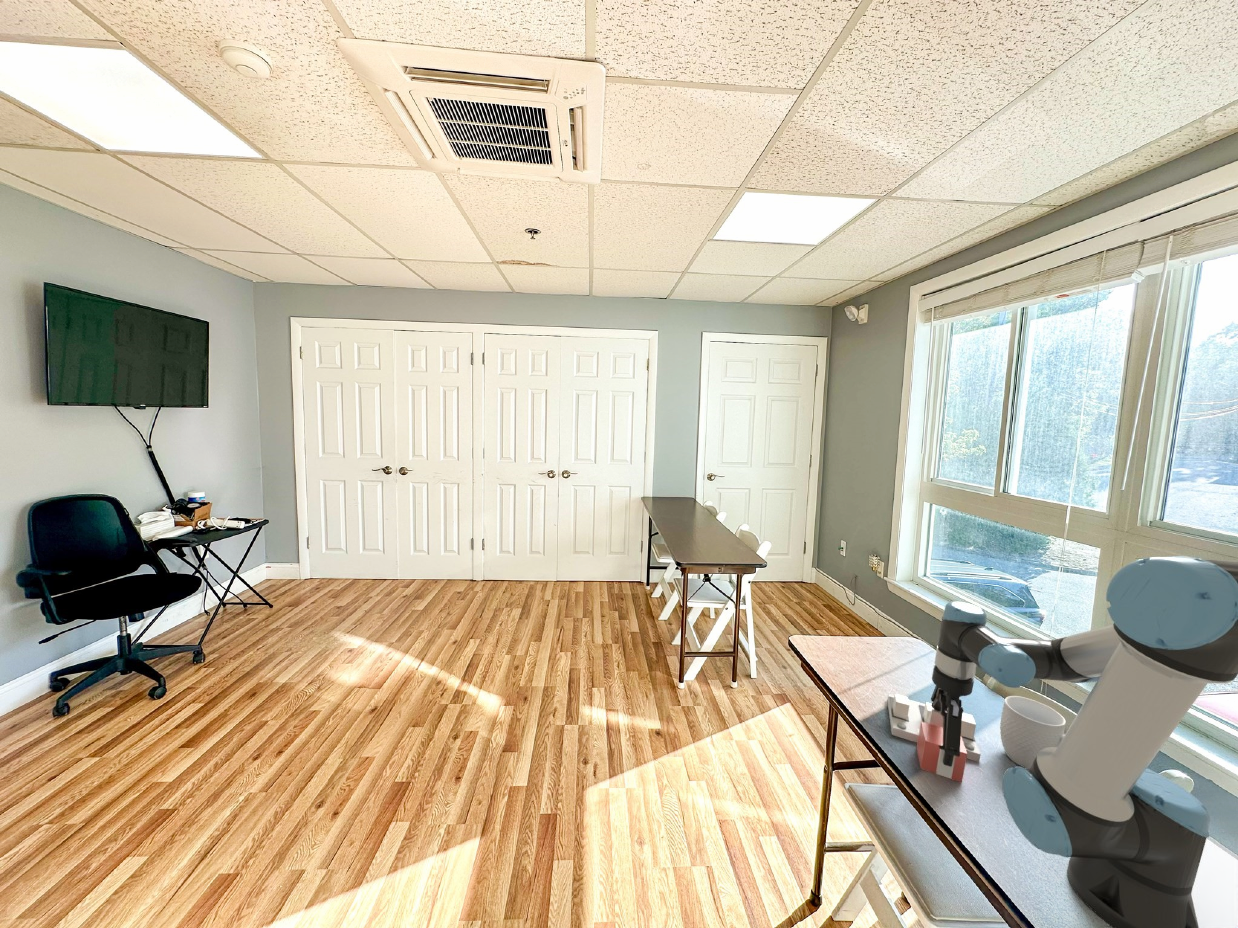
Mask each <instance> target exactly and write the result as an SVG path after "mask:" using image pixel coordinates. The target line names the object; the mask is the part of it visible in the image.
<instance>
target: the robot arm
mask: <svg viewBox="0 0 1238 928" xmlns="http://www.w3.org/2000/svg"><path fill="white" fill-rule="evenodd" d="M1105 600H1106V602H1107V603H1109V605H1110V606H1108V607H1107V611H1108V614H1109V616H1110V619H1111V621H1112V622H1113V624H1109V625H1107V626H1103V627H1098V628H1095V629H1091V630H1088V631H1083V632H1079V633H1075V634H1071V635H1068V636H1065V637H1061V638H1055V639H1049V640H1048V639H1037V638H1024V637H1023V638H1021V637H1020V638H1019V637H1009V636H1002V635H999V634H998V633H996V632H995V631H994V630H992V629H990V628H989V627H988V626H986V624H987V614H986V612H985V610H984V609H982V608H981V607H979V606H978V605H974V604H971V603H968V602H965V601H964V602H963V601H957V600H953V601H950V602H947V603H946V604H945V607H944V611H943V614H942V616H941V623H940V629H939V636H938V642H937V646H936V650H935V651H936V652H935V657H934V665H933V669H932V670H933V671H932V674H931V675H932V676H931V681H932V683H934V685H935V686H934V690H933V692H932V695H931V698H930V700H931V703H932V708H934V709H932V710H931V716H930V721H929V724H932V725H935V726H939V727H942V728H943V745H939V749H940V753H939V759H938V764H937V769H936V773H937V774H936V775H938V774H939V775H938V776H941V775H942V776H941V777H944V776H945V777H944V778H947V777H948V778H947V779H950V778H952V773H953V767H954V762H955V757H956V756H957V757H959V756H960V740H961V723H962V714H963V713H964V708H963V707H962V705H963V704H962V703H963V701H962V699H960V698H961V697H965V696H966V697H967V696H970V695H971V694H972V693H973V688H974V684H975V678H974V677H975V675H976V671H977V667H978V668H980V670H982V671H983V672H984V673H985V674H986V675H987V676H989V677H990V678H992V679H993V680H994V681H996V682H997V683H999V684H1000V685H1003V686H1004V687H1007V688H1014V689H1018V688H1020V687H1021V686H1027V685H1028V684H1030V683H1031V682H1032V681H1033V680H1046V681H1047V680H1048V681H1057V682H1067V683H1068V682H1069V683H1072V684H1083V683H1084V684H1085V683H1086V684H1087V683H1089V684H1090V683H1091V684H1092V683H1095V684H1094V686H1093V687H1092V689H1091V691H1090V692H1089V694H1088V696H1087V697H1086V699H1085V700H1084V702H1083V704H1082V706H1081V707H1080V709H1079V710H1078V712H1077V714H1076V716H1075V717H1074V719H1073V721H1072V722H1071V724H1070V725H1069V728H1068V729H1067V730H1066V732H1065V733H1064V734H1065V736H1064V737H1063V739H1062V741H1061V742H1060V744H1059V746H1058V747H1047V748H1044V749H1042V750H1041V751H1040V752H1039V753H1038V755H1037V756H1036V758H1035V760H1034V761H1033V763H1032V765H1031V766H1030V767H1028V768H1024V767H1022V766H1020V765H1017V766H1014V767H1009V768H1007V769H1006V770H1005V772H1004V773H1003V776H1002V781H1001V783H1002V784H1001V785H1002V793H1003V798H1004V800H1005V805H1006V807H1007V810H1008V812H1009V815H1010V817H1011V818H1012V820H1013V822H1014V824H1015V826H1016V827H1017V828H1018V830H1019V832H1020V833H1021V834H1022V835H1023V837H1024V838H1025V839H1026V840H1027V841H1028V842H1029V843H1030V844H1031V845H1032V846H1033V847H1035V848H1036V849H1038V850H1040V851H1042V852H1044V853H1046V854H1049V855H1056V856H1058V855H1059V856H1061V857H1063V858H1069V862H1068V864H1067V869H1066V874H1067V875H1066V876H1067V879H1068V882H1069V884H1070V886H1071V887H1072V888H1073V890H1074V892H1075V893H1076V894H1077V895H1078V897H1079V898H1080V899H1081V900H1082V902H1084V903H1085V905H1087V907H1088V908H1089V909H1090V910H1092V912H1094V913H1095V914H1096V915H1097V916H1099V917H1100V918H1101V919H1102V920H1103V921H1105V923H1107V924H1109V925H1110V926H1111V927H1113V928H1199V922H1198V917H1197V915H1196V909H1195V905H1194V904H1195V903H1194V901H1193V896H1192V892H1193V889H1194V884H1195V880H1196V877H1197V875H1198V870H1199V866H1200V864H1201V859H1202V856H1203V852H1204V849H1205V845H1206V843H1207V838H1209V837H1210V833H1209V827H1210V822H1211V817H1210V814H1209V811H1208V809H1207V807H1205V805H1204V804H1203V803H1202V802H1201V801H1200V800H1199V799H1198V798H1197V797H1195V796H1194V794H1192V793H1191V792H1189V791H1188V790H1187V789H1185V788H1184V787H1182V786H1180V785H1179V784H1178V783H1176V782H1175V781H1173V780H1170V779H1169V778H1167V777H1166V776H1164V775H1162V774H1160V773H1157V772H1156V771H1154V770H1152V769H1150V768H1148V767H1149V765H1150V764H1151V763H1152V761H1153V760H1154V758H1155V757H1156V756H1157V754H1158V753H1159V751H1161V749H1162V747H1163V746H1164V745H1165V743H1166V742H1167V741H1168V739H1169V738H1170V737H1171V735H1172V734H1173V732H1175V729H1176V728H1177V726H1178V725H1179V724H1180V722H1181V721H1182V720H1183V718H1184V717H1185V716H1186V714H1187V713H1188V711H1189V710H1190V709H1191V707H1192V705H1194V703H1195V702H1196V700H1197V699H1198V698H1199V696H1200V695H1201V693H1202V692H1203V691H1204V689H1205V687H1206V686H1207V685H1208V684H1228V683H1231V682H1233V681H1234V680H1235V679H1236V678H1237V676H1238V561H1229V560H1216V559H1215V560H1214V559H1203V558H1200V557H1199V558H1198V557H1195V556H1184V555H1173V556H1163V557H1162V556H1154V557H1146V558H1142V559H1138V560H1137V559H1136V560H1135V561H1132V562H1130V563H1128V564H1126V565H1125V566H1123V567H1122V568H1120V569H1119V570H1118V571H1117V572H1116V573H1115V574H1114V576H1113V577H1112V578H1111V580H1110V582H1109V583H1108V586H1107V588H1106V594H1105Z"/></svg>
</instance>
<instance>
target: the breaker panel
mask: <svg viewBox="0 0 1238 928" xmlns="http://www.w3.org/2000/svg"><path fill="white" fill-rule="evenodd" d="M894 695H895V694H891V693H888V694H887V707H888V714H889V722H890V723H889V724H890V733H891V736H895V737H898V738H902V739H905V740H908V741H911V742H914V743H917V742H918V736H919V731H920V725H921V721H922V722H925V721H924V717H923V714H924V708H925V703H922V702H919V701H916V700H912V699H909V698H908V700H909V705H910V706H909V712H908V718H907V720H906V719H903V718H900V717H896V716H894V714H893V701H894ZM961 737H962V740H963V743H964V746H965V749H966V752H967V758H966V759H968V760H971V761H974V762H977V763H980V760H981V756H982V755H981V751H980V749H979V746H978V744H977V741H976V739H975V737H974V739H970V738H966V737H963V736H961Z"/></svg>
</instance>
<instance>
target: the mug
mask: <svg viewBox="0 0 1238 928" xmlns="http://www.w3.org/2000/svg"><path fill="white" fill-rule="evenodd" d="M1003 701H1004V702H1003V707H1002V711H1001V716H1000V717H1001V718H1000V724H999V725H1000V726H999V729H1000V732H999V733H1000V741H1001V743H1002V747H1003V750H1004V751H1005V753H1006V756H1007V757H1008V758H1009V759H1010V760H1011V761H1012V762H1013V763H1015V764H1017V766H1019V767H1023V768H1028V767H1030V766H1031V765H1032V763H1033V761H1034V760H1035V758H1036V756H1037V755H1038V753H1039V752H1040V751H1041V750H1042V749H1044V748H1047V747H1058V746H1059V744H1060V742H1061V741H1062V739H1063V737H1064V736H1065V734H1066V733H1065V729H1066V723H1067V722H1066V719H1065V717H1064V716H1062V714H1060V713H1059V712H1058V711H1057V710H1055V709H1054V708H1052V707H1051V706H1049V705H1047V704H1044V703H1042V702H1039V701H1038V700H1034V699H1031V698H1027V697H1024V696H1019V695H1009V696H1007V697H1005V698H1004V700H1003Z"/></svg>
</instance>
